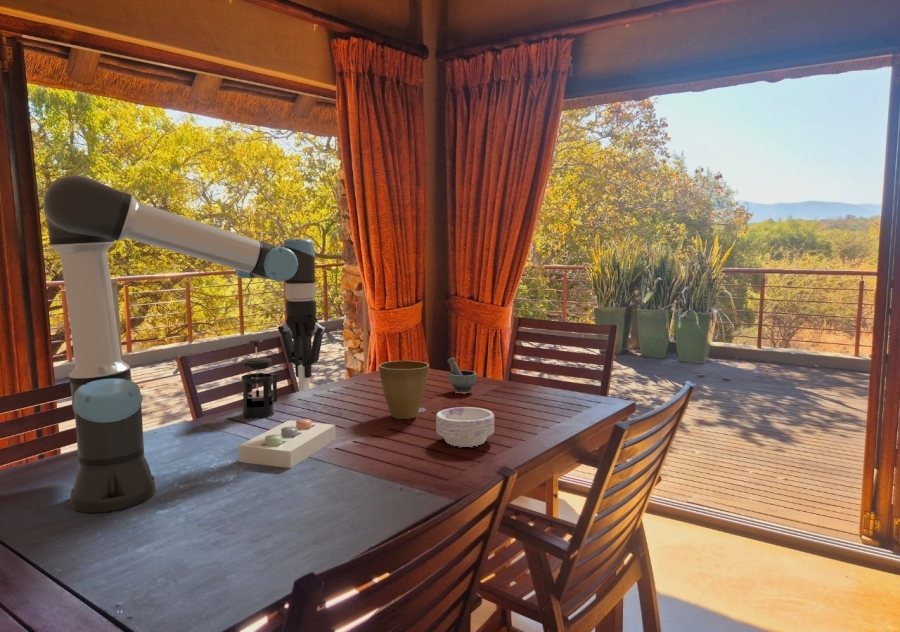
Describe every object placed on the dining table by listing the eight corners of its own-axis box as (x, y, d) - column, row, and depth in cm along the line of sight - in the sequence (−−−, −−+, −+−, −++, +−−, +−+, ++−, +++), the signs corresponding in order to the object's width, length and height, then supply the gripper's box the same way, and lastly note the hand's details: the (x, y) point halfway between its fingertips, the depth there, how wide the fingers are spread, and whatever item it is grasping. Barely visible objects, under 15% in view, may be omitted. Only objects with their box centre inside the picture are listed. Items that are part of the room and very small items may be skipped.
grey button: (292, 447, 149) (292, 431, 149) (278, 445, 150) (278, 430, 150) (301, 442, 153) (300, 427, 153) (287, 441, 154) (286, 425, 154)
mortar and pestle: (481, 391, 214) (481, 358, 213) (467, 396, 206) (467, 362, 205) (455, 387, 220) (455, 355, 219) (440, 392, 213) (440, 359, 211)
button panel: (290, 468, 139) (290, 451, 139) (239, 461, 143) (238, 445, 143) (335, 439, 160) (335, 424, 160) (289, 434, 164) (288, 420, 164)
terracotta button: (307, 439, 156) (306, 423, 155) (293, 437, 157) (293, 422, 157) (314, 434, 160) (314, 419, 159) (301, 433, 161) (301, 418, 160)
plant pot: (435, 420, 178) (435, 367, 176) (387, 425, 173) (386, 371, 171) (419, 408, 192) (419, 358, 190) (374, 412, 186) (373, 361, 185)
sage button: (276, 456, 143) (276, 440, 142) (262, 455, 144) (261, 438, 143) (285, 451, 146) (285, 435, 146) (271, 449, 148) (271, 433, 147)
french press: (252, 421, 177) (249, 343, 174) (233, 415, 182) (230, 340, 180) (285, 412, 186) (283, 339, 183) (266, 407, 192) (264, 336, 189)
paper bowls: (454, 430, 169) (454, 402, 168) (503, 439, 161) (504, 410, 160) (424, 445, 156) (424, 415, 155) (476, 456, 148) (476, 424, 147)
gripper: (330, 298, 156) (333, 387, 159) (286, 297, 160) (289, 384, 163) (316, 301, 149) (319, 394, 152) (270, 300, 153) (274, 391, 155)
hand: (304, 389), depth 157 cm, fingers closed
